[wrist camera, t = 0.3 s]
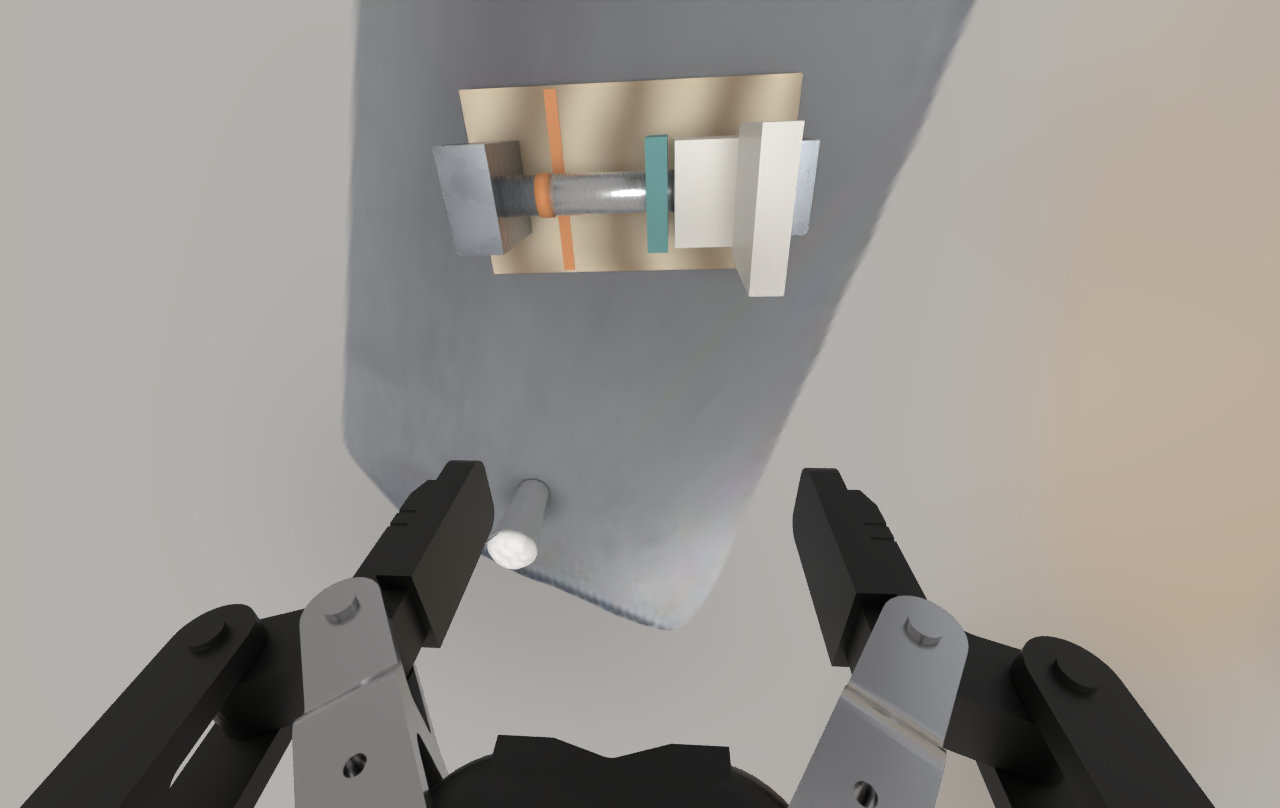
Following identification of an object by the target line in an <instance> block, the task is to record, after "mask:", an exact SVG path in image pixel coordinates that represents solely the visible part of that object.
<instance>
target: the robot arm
mask: <svg viewBox="0 0 1280 808" xmlns="http://www.w3.org/2000/svg"><path fill="white" fill-rule="evenodd" d="M493 521H494V505H493V500H492V496H491V492H490V488H489V484H488V480H487V475H486V471H485V467H484V465H483V463H482V462H481V461H463V460H451V461H449V462H448V463H447V464H446V466H445V467H444V469H443V470H442V472H441V473H440V475H439V476H438V478H437V480H427V481H426V482H425V483H424V484H422V485H421V486H420V487H418V488H417V489H416V490H415V491H413V492H412V493H411V494H410V495H409V497H408V498H407V499H406V501H405V502H404V504H403V505H402V507H401V508H400V511H399V513H397V514H396V515H395V517H394V518H393V520H392V521H391V523H390V527H387V529H386V530H385V531H384V533H383V534H382V536H381V537H380V539H379V540H378V542H377V543H376V544H375V546H374V547H373V549H372V550H371V552H370V553H369V555H368V556H367V558H366V559H365V560H364V562H363V563H362V565H361V566H360V568H359V569H358V571H357V572H356V574H355V575H354V576H353V578H349V579H345V580H342V581H340V582H337V583H335V584H333V585H331V586H329V587H328V588H326V589H324V590H323V591H322V592H320V593H319V594H318V595H317V596H315V597H314V598H313V599H312V600H311V601H310V603H309V604H308V605H307V607H306V608H305V609H302V610H297V611H293V612H289V613H285V614H280V615H277V616H272V617H268V618H264V619H259V618H258V617H257V615H256V614H255V612H254V611H253V610H252V609H251V608H250V607H249V606H246V605H243V604H232V605H227V606H222V607H219V608H216V609H213V610H211V611H208V612H206V613H204V614H202V615H200V616H199V617H197V618H195V619H194V620H192V621H191V622H189V623H188V624H187V625H185V626H184V627H183V628H182V629H180V630H179V631H178V632H177V633H176V634H175V635H174V636H173V637H172V638H171V639H170V640H169V642H168V643H167V644H166V645H165V646H164V647H163V648H162V649H161V650H160V652H159V653H158V654H157V655H156V656H155V657H154V658H153V659H152V661H151V662H150V663H149V664H148V665H147V666H146V667H145V668H144V669H143V671H142V672H141V673H140V674H139V675H138V676H137V677H136V678H135V680H134V681H133V682H132V683H131V684H130V685H129V686H128V687H127V689H126V690H125V691H124V692H123V693H122V694H121V695H120V696H119V697H118V699H117V700H116V701H115V702H114V703H113V704H112V705H111V706H110V708H109V709H108V710H107V711H106V712H105V713H104V714H103V715H102V717H101V718H100V719H99V720H98V721H97V722H96V723H95V725H94V726H93V727H92V728H91V729H90V730H89V731H88V732H87V733H86V734H85V736H84V737H83V738H82V739H81V740H80V741H79V742H78V743H77V745H76V746H75V747H74V748H73V749H72V750H71V751H70V752H69V753H68V755H67V756H66V757H65V758H64V759H63V760H62V761H61V762H60V764H59V765H58V766H57V767H56V768H55V769H54V770H53V771H52V772H51V774H50V775H49V776H48V777H47V778H46V779H45V780H44V782H42V784H41V785H40V786H39V787H38V788H37V789H36V790H35V791H34V793H33V794H32V795H31V796H30V797H29V798H28V799H27V800H26V802H25V803H24V804H23V805H22V806H21V807H20V808H254V806H255V804H256V803H257V801H258V799H259V797H260V795H261V794H262V792H263V790H264V788H265V786H266V784H267V783H268V781H269V779H270V777H271V776H272V774H273V772H274V770H275V768H276V767H277V765H278V763H279V761H280V759H281V758H282V755H283V754H284V752H285V750H286V749H287V747H288V745H289V743H290V741H291V739H292V743H293V767H294V791H295V792H294V793H295V808H934V806H935V802H936V798H937V795H938V791H939V787H940V783H941V779H942V775H943V771H944V767H945V762H946V750H944V749H943V748H945V749H947V750H950V751H953V752H955V753H958V754H961V755H963V756H966V757H969V758H971V759H973V760H976V762H977V765H978V767H979V770H980V772H981V774H982V777H983V779H984V781H985V784H986V786H987V789H988V791H989V793H990V796H991V798H992V800H993V803H994V805H995V808H1215V807H1214V806H1213V804H1212V803H1211V801H1210V800H1209V799H1208V798H1207V796H1206V795H1205V794H1204V792H1203V791H1202V790H1201V788H1200V787H1199V785H1198V784H1197V783H1196V781H1195V780H1194V779H1193V777H1192V776H1191V774H1190V773H1189V772H1188V770H1187V769H1186V768H1185V766H1184V765H1183V764H1182V762H1181V761H1180V760H1179V758H1178V757H1177V755H1176V754H1175V753H1174V752H1173V750H1172V749H1171V747H1170V746H1169V745H1168V743H1167V742H1166V741H1165V739H1164V738H1163V737H1162V735H1161V734H1160V732H1159V731H1158V730H1157V728H1156V727H1155V726H1154V724H1153V723H1152V722H1151V720H1150V719H1149V718H1148V716H1147V715H1146V713H1145V712H1144V711H1143V709H1142V708H1141V707H1140V706H1139V704H1138V703H1137V701H1136V700H1135V699H1134V697H1133V696H1132V695H1131V693H1130V692H1129V691H1128V689H1127V688H1126V687H1125V685H1124V684H1123V682H1122V681H1121V680H1120V679H1119V677H1118V676H1117V675H1116V674H1115V673H1114V671H1113V670H1112V669H1110V668H1109V667H1108V666H1107V665H1106V664H1105V663H1104V662H1103V661H1101V660H1100V659H1099V658H1098V657H1096V656H1094V655H1093V654H1092V653H1090V652H1089V651H1087V650H1085V649H1084V648H1082V647H1080V646H1078V645H1076V644H1074V643H1071V642H1069V641H1066V640H1063V639H1059V638H1055V637H1049V636H1040V637H1035V638H1033V639H1030V640H1029V641H1028V642H1027V643H1026V644H1025V646H1024V647H1023V648H1022V650H1020V649H1017V648H1013V647H1010V646H1007V645H1004V644H1000V643H997V642H994V641H991V640H987V639H984V638H980V637H978V636H975V635H972V634H970V633H967V632H965V631H964V630H963V629H962V627H961V626H960V624H959V623H958V622H957V621H956V619H955V618H954V617H953V616H952V615H950V614H949V613H948V612H947V611H946V610H944V609H943V608H941V607H940V606H938V605H936V604H935V603H933V602H930V601H928V600H927V599H926V597H925V595H924V593H923V591H922V590H921V588H920V586H919V584H918V582H917V580H916V578H915V576H914V575H913V573H912V571H911V569H910V567H909V565H908V563H907V561H906V560H905V558H904V556H903V554H902V552H901V550H900V548H899V546H898V544H897V542H894V537H893V535H892V533H891V531H890V530H889V528H888V527H887V526H886V522H885V520H884V518H883V516H882V514H881V512H880V511H879V509H878V507H877V505H876V504H875V503H873V502H872V501H871V500H870V499H869V498H868V497H867V496H866V495H864V494H863V493H862V492H861V491H860V490H847V488H846V485H845V483H844V481H843V479H842V477H841V475H840V473H839V471H838V470H837V469H834V468H804V469H803V470H802V473H801V477H800V482H799V487H798V492H797V497H796V502H795V507H794V512H793V534H794V539H795V542H796V546H797V549H798V553H799V556H800V560H801V563H802V567H803V570H804V573H805V576H806V580H807V583H808V587H809V590H810V594H811V597H812V600H813V604H814V607H815V611H816V614H817V617H818V621H819V624H820V628H821V631H822V634H823V638H824V641H825V644H826V648H827V651H828V655H829V658H830V662H831V665H832V666H840V667H850V670H851V673H852V676H851V678H850V680H849V682H848V684H847V686H845V688H844V689H843V691H842V694H841V695H840V698H839V700H838V702H837V704H836V706H835V708H834V710H833V712H832V715H831V717H830V719H829V721H828V723H827V725H826V727H825V730H824V732H823V734H822V736H821V738H820V740H819V742H818V745H817V747H816V749H815V751H814V753H813V755H812V757H811V760H810V762H809V764H808V766H807V768H806V771H805V772H804V775H803V777H802V779H801V781H800V783H799V785H798V788H797V790H796V792H795V794H794V796H793V798H792V800H791V803H790V805H788V804H787V803H786V801H785V800H784V799H783V798H782V797H781V796H779V795H778V794H777V793H776V792H775V791H774V790H773V789H771V788H770V787H769V786H768V785H766V784H765V783H763V782H762V781H760V780H759V779H758V778H756V777H754V776H753V775H750V774H749V773H747V772H745V771H743V770H741V769H738V768H736V767H733V766H731V763H730V752H729V747H721V746H702V745H683V744H669V745H665V746H661V747H657V748H653V749H649V750H645V751H641V752H637V753H633V754H629V755H625V756H621V757H616V758H607V757H603V756H601V755H598V754H595V753H593V752H590V751H588V750H585V749H582V748H579V747H577V746H574V745H572V744H569V743H566V742H564V741H561V740H558V739H556V738H549V737H529V736H510V735H498V737H497V741H496V744H495V748H494V752H493V754H491V755H487V756H484V757H482V758H479V759H476V760H474V761H471V762H470V763H468V764H466V765H464V766H462V767H460V768H458V769H457V770H455V771H454V772H452V773H451V774H450V775H448V772H447V769H446V766H445V763H444V761H443V758H442V756H441V753H440V750H439V747H438V744H437V741H436V737H435V734H434V730H433V727H432V723H431V719H430V716H429V712H428V708H427V705H426V701H425V697H424V694H423V690H422V686H421V683H420V680H419V675H418V672H417V668H416V666H415V663H414V661H415V660H416V657H417V655H418V653H419V651H420V649H421V647H431V648H440V647H441V645H442V642H443V640H444V637H445V636H446V633H447V631H448V629H449V626H450V624H451V622H452V619H453V617H454V615H455V612H456V610H457V608H458V606H459V603H460V601H461V599H462V596H463V594H464V592H465V589H466V587H467V585H468V582H469V580H470V578H471V575H472V573H473V571H474V569H475V566H476V564H477V562H478V559H479V557H480V555H481V553H482V550H483V548H484V546H485V543H486V541H487V539H488V536H489V534H490V532H491V529H492V526H493ZM212 720H214V721H215V724H214V725H213V727H212V729H211V730H210V731H209V733H208V734H207V736H206V737H205V739H204V740H203V741H202V743H201V744H200V746H199V747H198V748H197V750H196V751H195V753H194V754H193V756H192V757H191V759H190V760H189V761H188V763H187V764H186V766H185V767H184V769H183V770H182V771H181V773H180V774H179V776H178V777H177V779H176V780H175V782H174V783H173V784H172V786H171V787H170V785H171V781H172V779H173V777H174V775H175V773H176V771H177V770H178V768H179V767H180V765H181V764H182V762H183V761H184V759H185V758H186V757H187V755H188V754H189V752H190V751H191V749H192V748H193V747H194V745H195V744H196V742H197V741H198V739H199V738H200V737H201V735H202V734H203V732H204V731H205V730H206V728H207V727H208V725H209V724H210V722H211V721H212ZM169 788H170V789H169Z"/></svg>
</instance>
